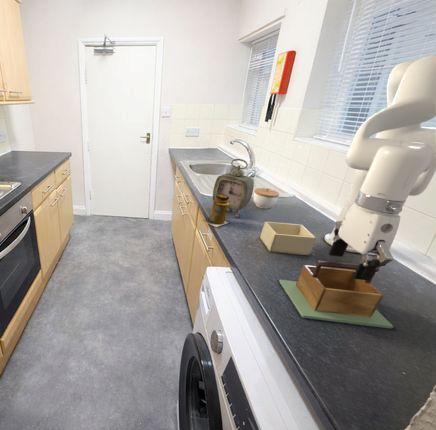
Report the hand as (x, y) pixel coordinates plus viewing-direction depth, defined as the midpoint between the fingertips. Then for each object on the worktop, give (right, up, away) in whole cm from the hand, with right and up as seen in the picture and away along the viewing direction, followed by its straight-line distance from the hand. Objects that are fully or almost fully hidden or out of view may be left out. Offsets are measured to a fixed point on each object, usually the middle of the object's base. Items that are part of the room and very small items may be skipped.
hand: (347, 266), depth 66 cm
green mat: (0, -11, +5) cm, 12 cm away
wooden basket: (0, -10, +5) cm, 11 cm away
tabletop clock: (-5, +14, +58) cm, 59 cm away
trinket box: (+16, +17, +65) cm, 69 cm away
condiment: (-14, +10, +48) cm, 51 cm away
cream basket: (+4, +1, +31) cm, 31 cm away
